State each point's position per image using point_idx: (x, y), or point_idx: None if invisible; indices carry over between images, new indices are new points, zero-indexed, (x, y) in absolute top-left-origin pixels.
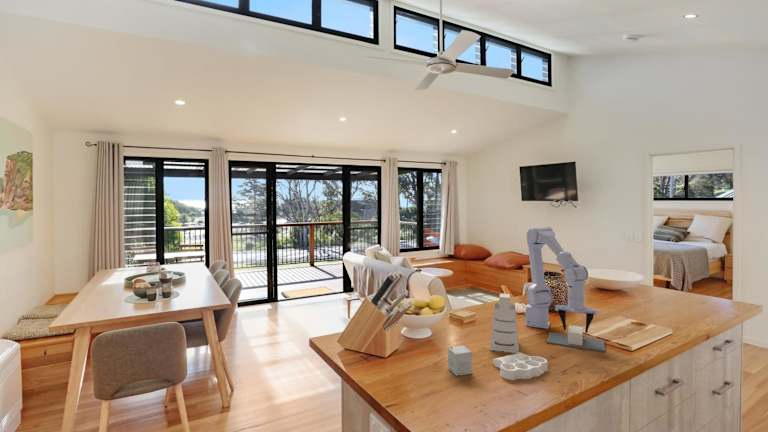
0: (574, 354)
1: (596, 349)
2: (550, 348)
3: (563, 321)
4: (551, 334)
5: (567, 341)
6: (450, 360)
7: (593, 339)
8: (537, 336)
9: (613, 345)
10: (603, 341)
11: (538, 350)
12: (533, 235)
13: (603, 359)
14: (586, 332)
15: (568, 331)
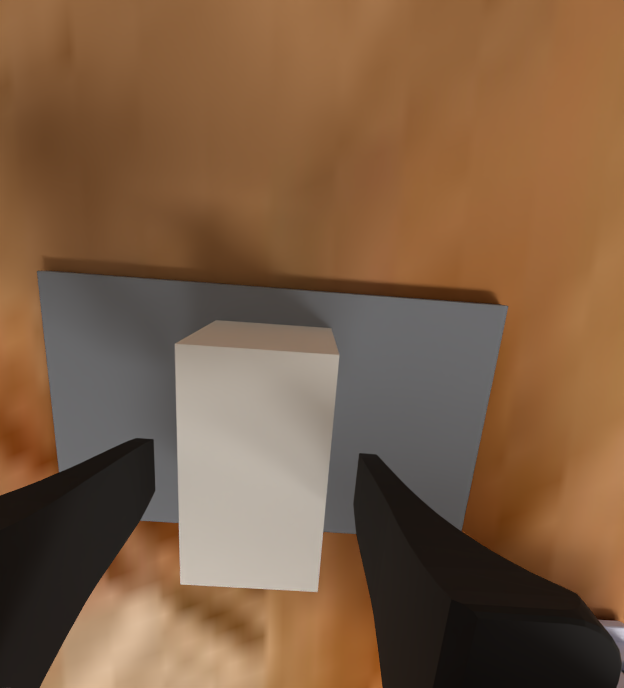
0: (281, 107)
1: (103, 275)
2: (479, 180)
3: (413, 512)
4: (449, 490)
5: None
6: None
7: None
8: (556, 433)
9: (4, 451)
10: None
11: (595, 74)
12: None
13: (45, 83)
14: (138, 440)
15: (331, 382)
